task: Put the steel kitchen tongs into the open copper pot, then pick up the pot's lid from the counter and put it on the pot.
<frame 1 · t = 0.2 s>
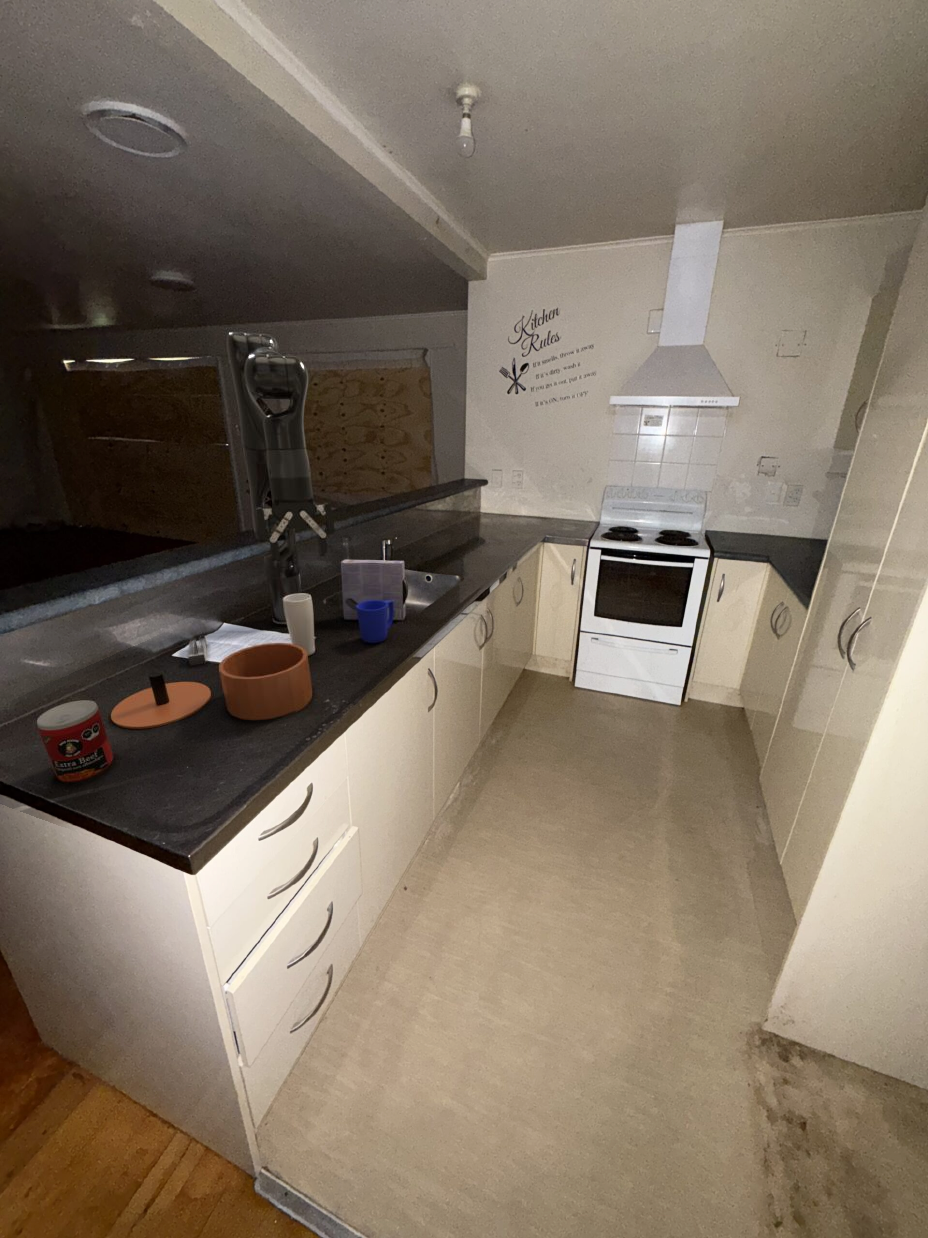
hand: (300, 557, 97), 29 cm above the counter, tool pointing down, fingers open, 8 cm apart
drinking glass: (304, 653, 123), on the counter
pot: (271, 700, 101), on the counter
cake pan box: (377, 618, 146), on the counter
pot lid: (163, 704, 99), point 1 cm above the counter
canned food: (87, 770, 81), on the counter
mug: (379, 637, 133), on the counter
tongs: (199, 656, 122), on the counter
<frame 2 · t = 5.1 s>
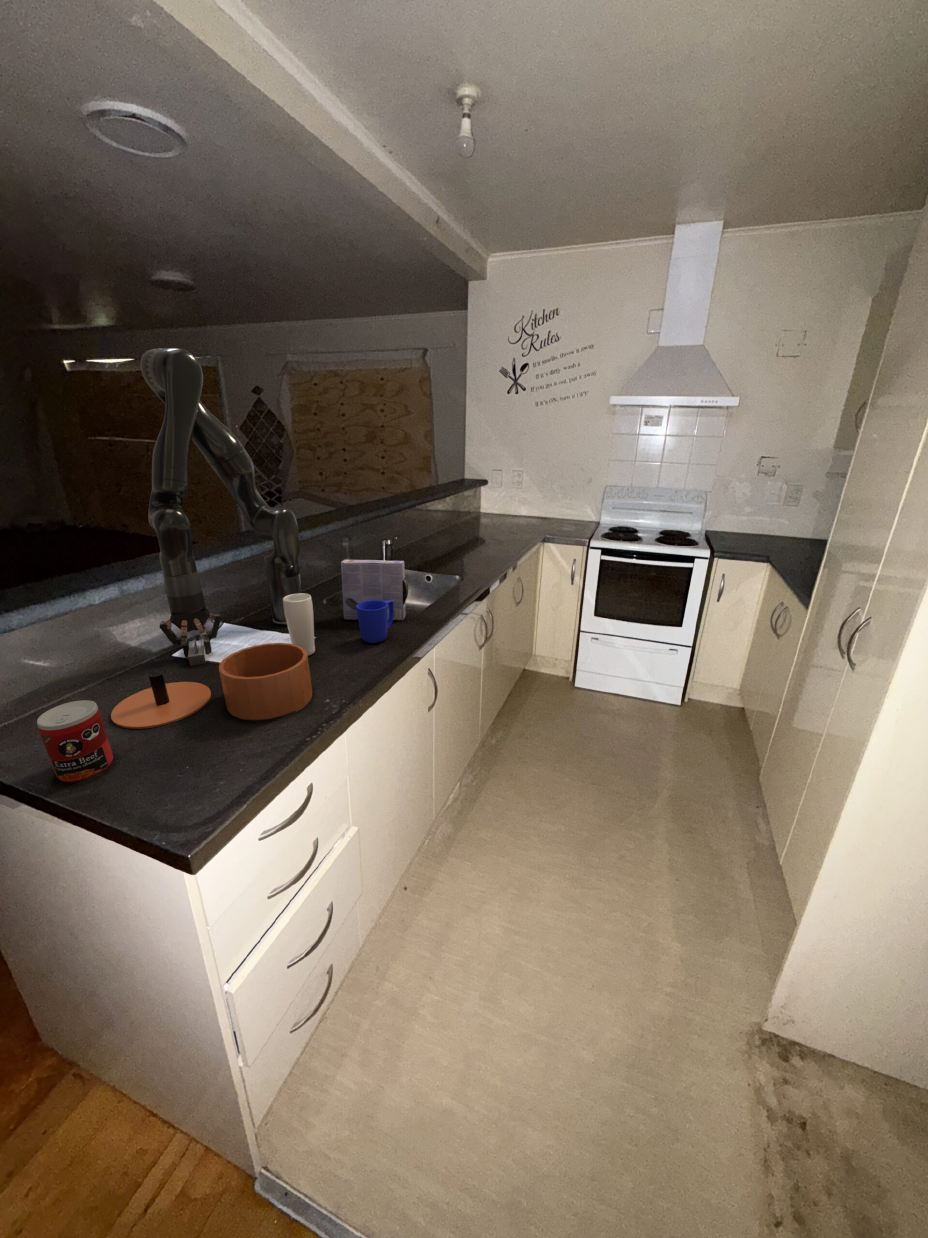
hand: (198, 655, 122), 0 cm above the counter, tool pointing down, fingers closed on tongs, 3 cm apart
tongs: (199, 656, 122), on the counter, touching gripper
everything else where it was.
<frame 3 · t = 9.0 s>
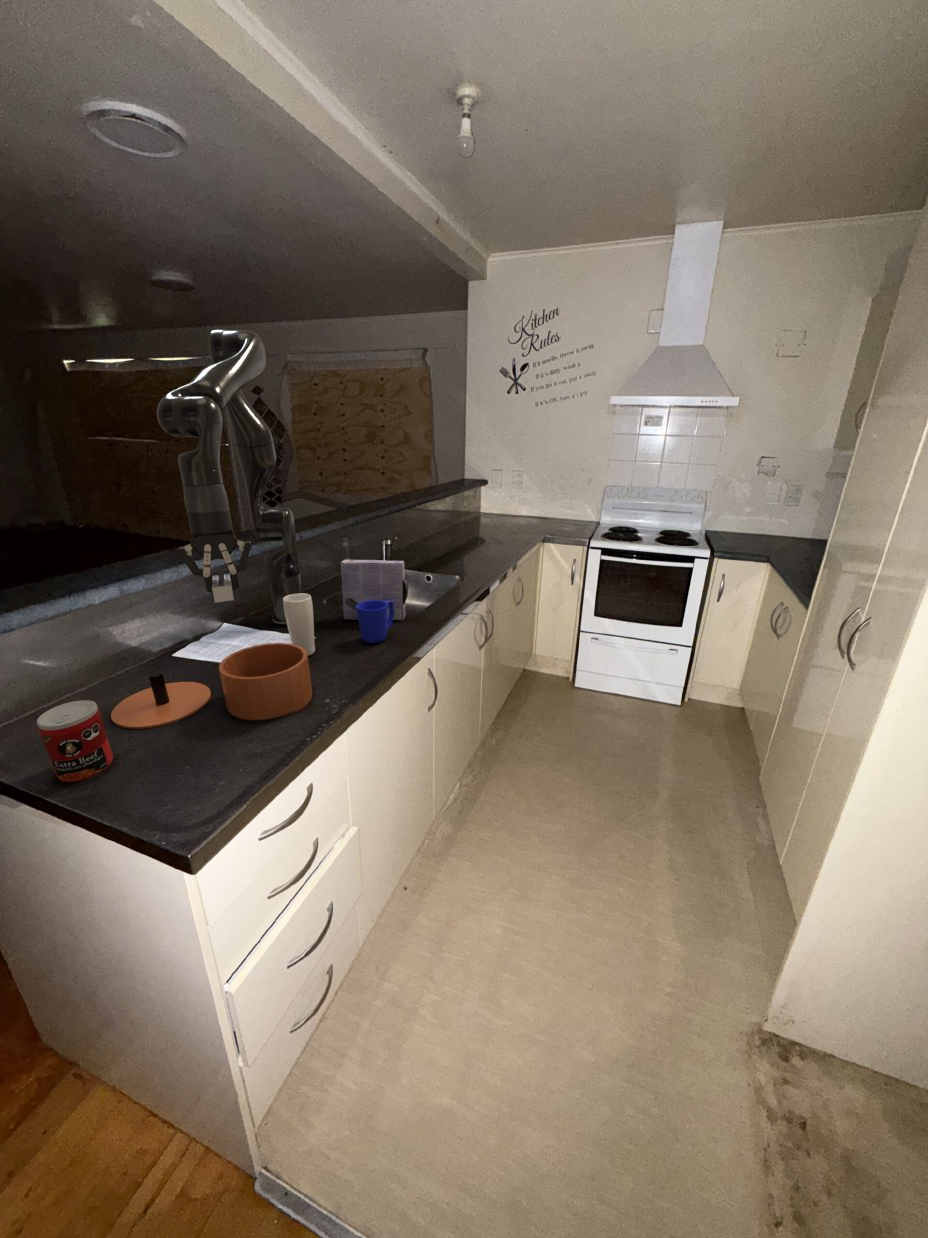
hand: (223, 591, 101), 22 cm above the counter, tool pointing down, fingers closed on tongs, 3 cm apart
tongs: (224, 592, 101), point 21 cm above the counter, touching gripper
everything else where it was.
when the fingers open (8 cm above the counter, at t = 12.7 s): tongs drops 7 cm, resting on pot.
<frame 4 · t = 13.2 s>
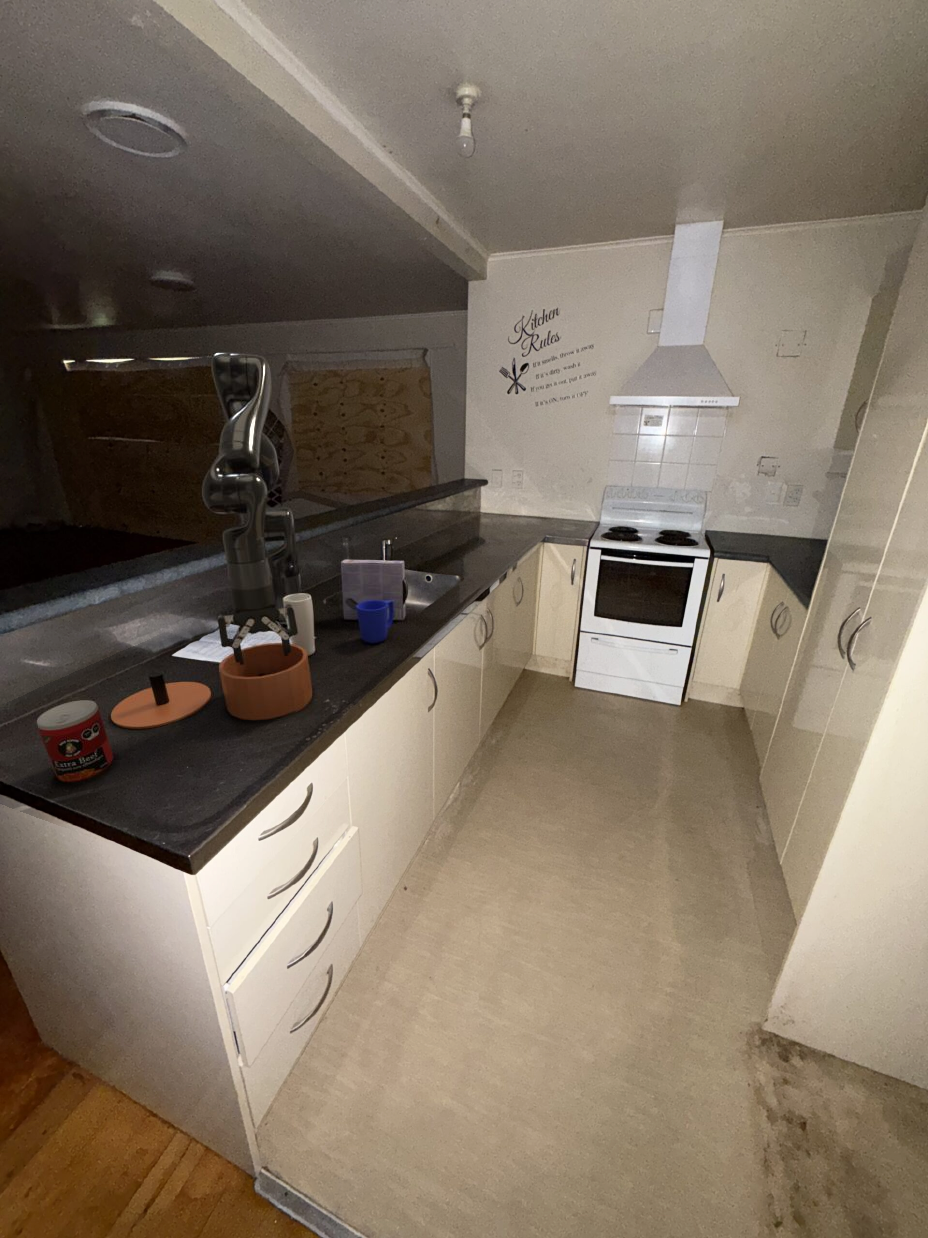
hand: (264, 659, 98), 10 cm above the counter, tool pointing down, fingers open, 8 cm apart
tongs: (271, 698, 101), resting on pot
everything else where it was.
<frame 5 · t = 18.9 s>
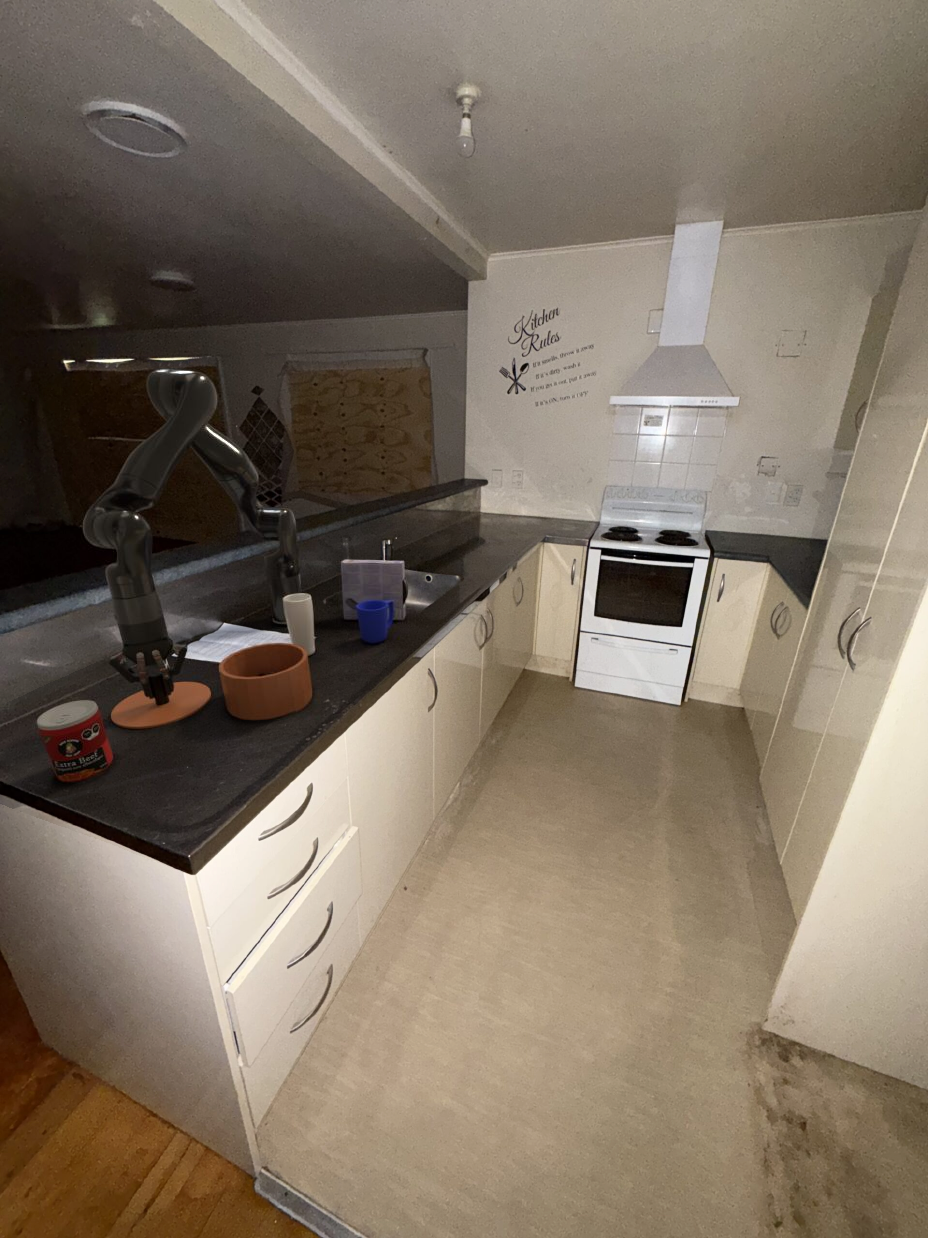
hand: (160, 695, 98), 3 cm above the counter, tool pointing down, fingers closed on pot lid, 2 cm apart
pot lid: (163, 704, 99), point 1 cm above the counter, touching gripper
everything else where it was.
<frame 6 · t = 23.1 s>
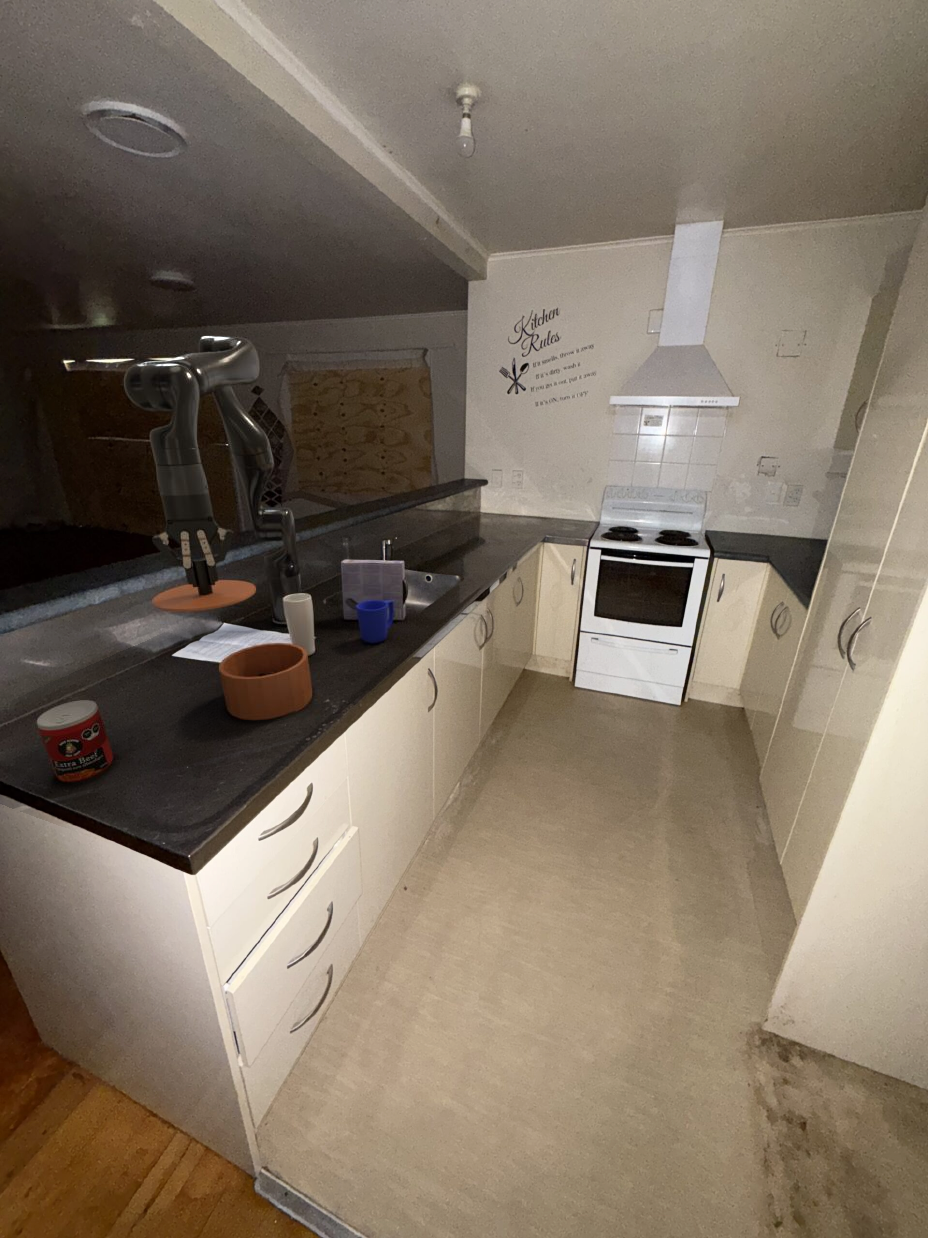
hand: (204, 584, 91), 26 cm above the counter, tool pointing down, fingers closed on pot lid, 2 cm apart
pot lid: (206, 595, 92), point 23 cm above the counter, touching gripper
everything else where it was.
when the fingers open (12 cm above the counter, at t = 27.3 s): pot lid stays where it is, resting on pot.
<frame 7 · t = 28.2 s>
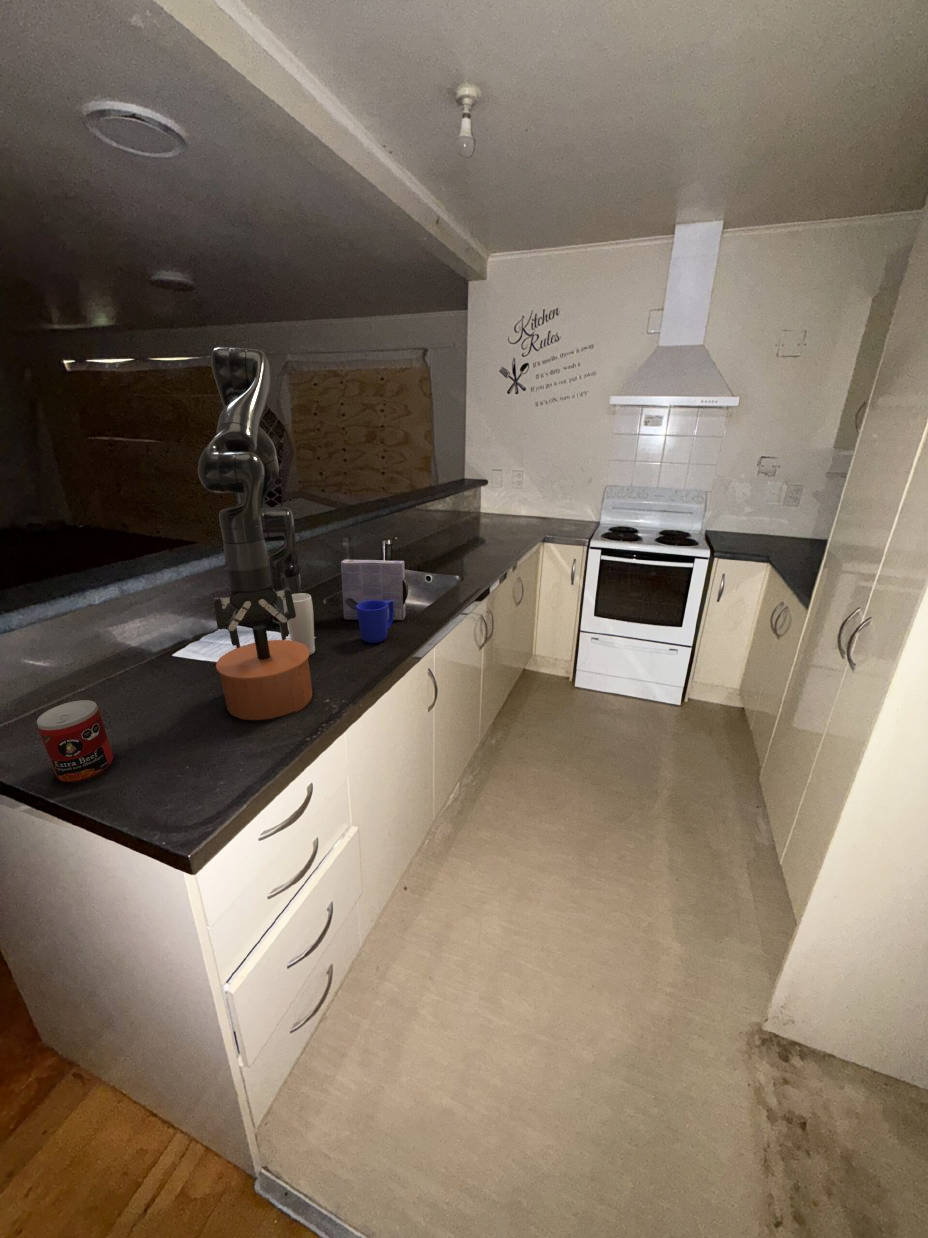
hand: (261, 642, 97), 13 cm above the counter, tool pointing down, fingers open, 8 cm apart
pot lid: (264, 659, 98), point 9 cm above the counter, touching pot
everything else where it was.
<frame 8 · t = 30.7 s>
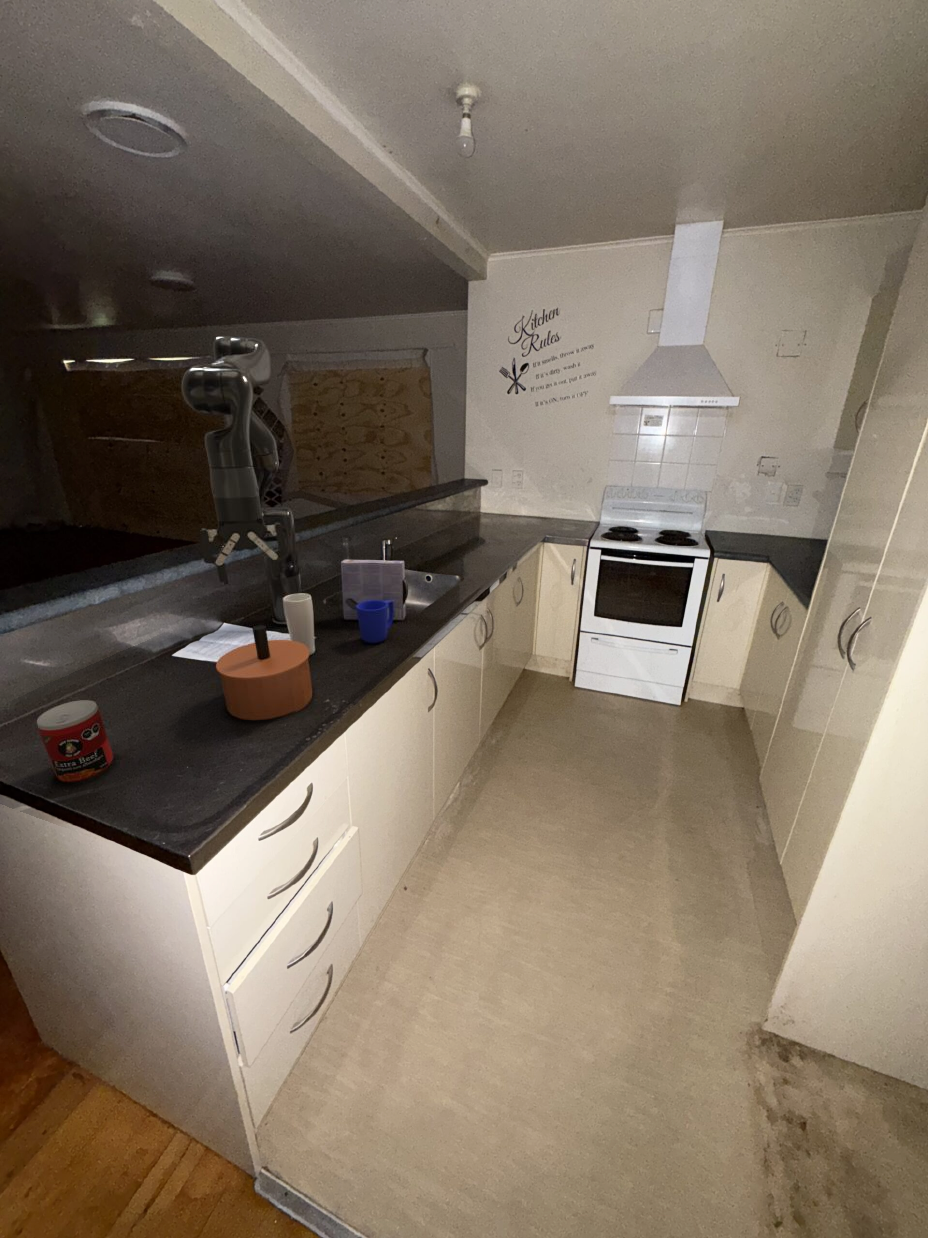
hand: (250, 580, 92), 26 cm above the counter, tool pointing down, fingers open, 8 cm apart
nothing on the counter moved.
at the end: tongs inside the target area in the pot (0.2 cm from its centre), point 0.5 cm above the pot's base; pot lid 0.0 cm off-centre on the pot, point 9.5 cm above the pot's base; pot lid tilted 0° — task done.
